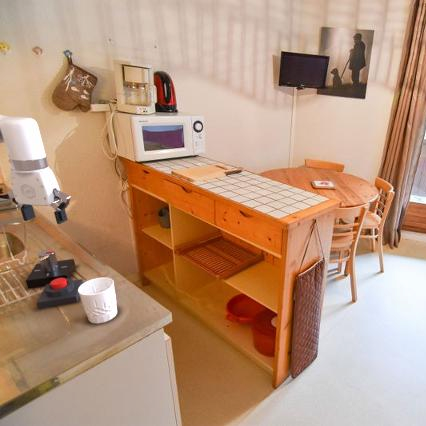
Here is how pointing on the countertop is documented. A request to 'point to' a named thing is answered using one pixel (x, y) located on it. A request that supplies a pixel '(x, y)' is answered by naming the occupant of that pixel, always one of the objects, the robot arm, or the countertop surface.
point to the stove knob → (48, 261)
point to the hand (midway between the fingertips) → (46, 220)
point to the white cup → (98, 299)
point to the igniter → (60, 294)
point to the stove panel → (50, 274)
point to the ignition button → (58, 283)
